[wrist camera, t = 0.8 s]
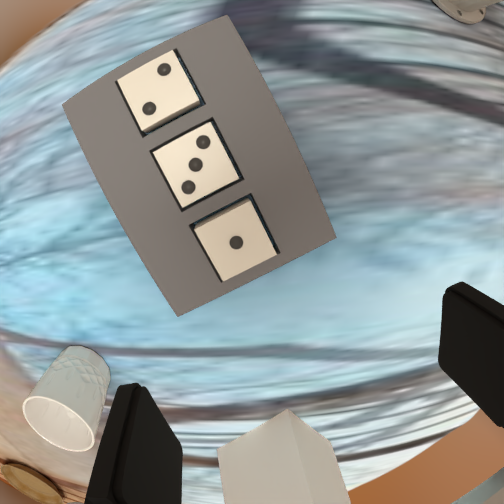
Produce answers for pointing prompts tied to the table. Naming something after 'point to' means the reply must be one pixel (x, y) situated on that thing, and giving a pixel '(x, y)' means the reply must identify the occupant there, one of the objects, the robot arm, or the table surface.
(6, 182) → the table surface
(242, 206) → the button one
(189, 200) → the button three
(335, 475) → the milk
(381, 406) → the table surface
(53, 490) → the plant saucer
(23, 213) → the table surface
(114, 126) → the button panel
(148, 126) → the button two
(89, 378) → the white cup
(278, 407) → the table surface
